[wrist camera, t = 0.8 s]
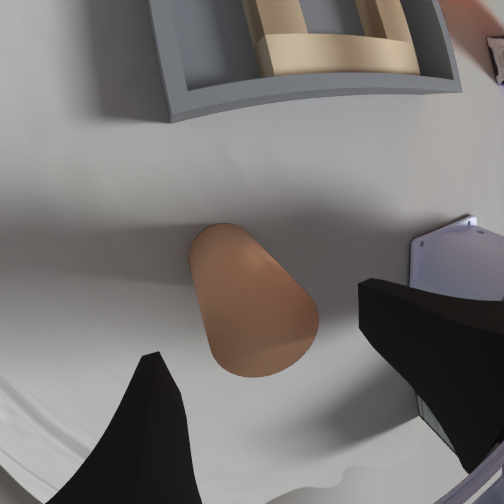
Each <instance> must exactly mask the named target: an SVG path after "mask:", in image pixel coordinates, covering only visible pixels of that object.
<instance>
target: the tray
mask: <svg viewBox="0 0 504 504" xmlns="http://www.w3.org/2000/svg"><path fill="white" fill-rule="evenodd" d="M399 1H400V3H401V6H402V9H403V12H404V15H405V18H406V21H407V25H408V28H409V31H410V35H411V38H412V42H413V46H414V50H415V54H416V58H417V62H418V66H419V71H420V75H421V76H417V75H405V74H389V73H316V74H300V75H288V76H277V77H268V78H260V74H259V69H258V65H257V61H256V56H255V52H254V48H253V44H252V40H251V36H250V32H249V28H248V24H247V20H246V16H245V12H244V8H243V5H242V1H241V0H147V6H148V12H149V18H150V23H151V29H152V35H153V40H154V45H155V51H156V56H157V61H158V66H159V71H160V76H161V81H162V85H163V90H164V95H165V99H166V104H167V109H168V113H169V118H170V122H171V123H175V122H179V121H183V120H187V119H191V118H195V117H200V116H204V115H208V114H213V113H218V112H223V111H228V110H233V109H238V108H244V107H249V106H255V105H261V104H268V103H275V102H282V101H290V100H298V99H307V98H318V97H329V96H344V95H366V94H417V95H425V94H439V93H462V88H461V82H460V77H459V72H458V68H457V63H456V59H455V55H454V51H453V47H452V43H451V40H450V36H449V33H448V29H447V26H446V23H445V20H444V17H443V14H442V11H441V8H440V5H439V2H438V0H399ZM299 4H300V7H301V10H302V14H303V17H304V21H305V24H306V28H307V31H308V34H339V35H354V36H365V33H364V30H363V26H362V23H361V20H360V16H359V13H358V10H357V7H356V4H355V1H354V0H299Z"/></svg>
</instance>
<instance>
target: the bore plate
mask: <svg viewBox="0 0 504 504" xmlns="http://www.w3.org/2000/svg"><path fill="white" fill-rule="evenodd" d="M241 1H242V5H243V8H244V12H245V16H246V20H247V24H248V28H249V32H250V36H251V40H252V44H253V48H254V52H255V56H256V61H257V65H258V69H259V74H260V78H268V77H277V76H288V75H300V74H316V73H389V74H405V75H417V76H421V75H420V71H419V66H418V62H417V58H416V54H415V50H414V46H413V42H412V38H411V35H410V31H409V28H408V25H407V21H406V18H405V15H404V12H403V9H402V6H401V3H400V1H399V0H354V1H355V4H356V7H357V10H358V13H359V16H360V20H361V23H362V26H363V30H364V33H365V36H354V35H339V34H308V31H307V28H306V24H305V21H304V17H303V14H302V10H301V7H300V4H299V0H241Z"/></svg>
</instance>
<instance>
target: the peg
mask: <svg viewBox="0 0 504 504" xmlns="http://www.w3.org/2000/svg"><path fill="white" fill-rule="evenodd" d="M189 264H190V269H191V273H192V278H193V282H194V286H195V290H196V294H197V299H198V303H199V307H200V311H201V315H202V319H203V322H204V326H205V330H206V334H207V338H208V341H209V345H210V349H211V352H212V354H213V357H214V358H215V360H216V361H217V363H218V364H219V365H220V366H221V367H222V368H224V369H225V370H227V371H229V372H230V373H233V374H235V375H238V376H243V377H264V376H268V375H272V374H275V373H278V372H280V371H282V370H284V369H286V368H288V367H289V366H291V365H293V364H294V363H295V362H296V361H298V360H299V359H300V358H301V357H302V356H303V355H304V354H305V353H306V351H307V350H308V349H309V347H310V346H311V344H312V343H313V341H314V339H315V336H316V333H317V330H318V324H319V315H318V310H317V307H316V304H315V303H314V301H313V299H312V298H311V297H310V295H309V294H308V293H307V292H306V291H305V290H304V289H303V288H302V287H301V286H300V285H299V284H298V283H297V282H296V281H295V280H294V279H293V278H292V277H291V276H290V275H289V274H288V273H287V272H286V271H285V270H284V269H283V268H282V267H281V266H280V265H279V264H278V263H277V262H276V261H275V260H274V259H273V257H272V256H271V255H270V254H269V253H268V252H267V251H266V250H265V249H264V248H263V247H262V246H261V245H260V244H259V243H258V242H257V241H256V240H255V239H254V238H253V237H252V236H251V235H250V234H249V233H248V232H247V231H246V230H244V229H243V228H241V227H239V226H237V225H234V224H229V223H221V224H216V225H213V226H210V227H208V228H206V229H205V230H203V231H202V232H201V233H200V234H199V235H198V236H197V237H196V238H195V240H194V241H193V243H192V245H191V248H190V251H189Z"/></svg>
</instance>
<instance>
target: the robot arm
mask: <svg viewBox="0 0 504 504" xmlns="http://www.w3.org/2000/svg"><path fill="white" fill-rule="evenodd" d="M420 243H421V244H420ZM358 300H359V329H360V330H361V332H362V333H363V334H364V336H365V337H366V339H367V340H368V341H369V342H370V344H371V345H372V346H373V348H374V349H375V350H376V351H377V352H378V353H379V354H380V355H381V356H382V357H383V358H384V359H385V360H386V361H387V362H388V363H389V364H390V365H391V366H392V367H393V368H394V369H395V370H396V371H397V372H398V373H399V374H400V375H401V376H402V377H403V378H404V379H405V380H406V381H407V382H408V383H409V384H410V385H411V386H412V387H413V388H414V389H415V391H416V392H417V393H418V394H419V396H420V397H421V398H422V400H423V401H424V402H425V404H426V405H427V406H428V408H429V409H430V411H431V412H432V414H433V415H434V416H435V418H436V419H437V421H438V422H439V424H440V425H441V427H442V429H443V430H444V432H445V434H446V435H447V437H448V439H449V440H450V442H451V444H452V446H453V448H454V450H455V452H456V454H457V456H458V458H459V460H460V462H461V464H462V467H463V468H464V469H465V471H466V472H467V473H468V474H469V475H468V476H467V477H466V478H465V479H464V480H463V481H461V482H460V483H459V484H458V485H457V486H456V487H454V488H453V489H452V490H451V491H449V492H448V493H447V494H445V495H444V496H443V497H442V498H440V499H439V500H438V501H436V502H435V503H434V504H463V503H464V502H465V501H467V500H468V499H469V498H470V497H471V496H472V495H473V494H475V493H476V492H477V491H478V490H479V489H480V488H481V487H482V486H483V485H484V484H485V483H486V482H487V481H488V480H489V479H490V478H491V477H492V476H493V475H494V474H495V473H496V472H497V471H498V470H499V469H500V468H501V467H502V466H503V467H502V475H501V477H500V478H499V479H498V480H497V481H496V482H495V483H494V484H492V486H490V487H489V488H488V489H487V490H486V491H485V492H484V493H483V494H482V495H481V496H480V497H479V498H477V499H476V501H474V502H473V503H472V504H504V236H501V235H499V234H496V233H494V232H491V231H489V230H486V229H483V228H481V227H478V226H476V216H474V215H471V216H468V217H466V218H464V219H461V220H459V221H457V222H454V223H452V224H450V225H447V226H445V227H442V228H440V229H438V230H435V231H433V232H430V233H428V234H425V235H423V236H420V237H418V238H415V239H414V240H413V241H412V243H411V264H410V285H409V287H408V286H404V285H400V284H397V283H393V282H389V281H384V280H380V279H374V278H370V279H368V280H365V281H363V282H360V283H358ZM45 504H202V501H201V498H200V495H199V491H198V488H197V485H196V480H195V476H194V471H193V464H192V457H191V450H190V442H189V434H188V426H187V418H186V414H185V409H184V405H183V401H182V397H181V392H180V391H179V389H178V387H177V385H176V383H175V381H174V380H173V378H172V376H171V374H170V372H169V370H168V368H167V366H166V364H165V362H164V360H163V358H162V356H161V354H160V352H159V351H158V352H155V353H151V354H147V355H144V356H142V357H141V359H140V361H139V363H138V366H137V368H136V370H135V372H134V374H133V377H132V379H131V381H130V383H129V386H128V388H127V390H126V392H125V394H124V396H123V398H122V401H121V403H120V405H119V407H118V409H117V411H116V412H115V414H114V416H113V418H112V420H111V422H110V424H109V426H108V427H107V429H106V431H105V432H104V434H103V436H102V437H101V439H100V440H99V442H98V443H97V445H96V446H95V448H94V449H93V451H92V452H91V454H90V455H89V456H88V458H87V459H86V460H85V461H84V463H83V464H82V465H81V467H80V468H79V469H78V470H77V472H76V473H75V474H74V475H73V477H72V478H71V479H70V480H69V481H68V482H67V483H66V484H65V485H64V486H63V487H62V488H61V489H60V490H59V491H58V492H57V493H56V494H55V495H54V496H53V497H52V498H51V499H50V500H49V501H48V502H47V503H45Z"/></svg>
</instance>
